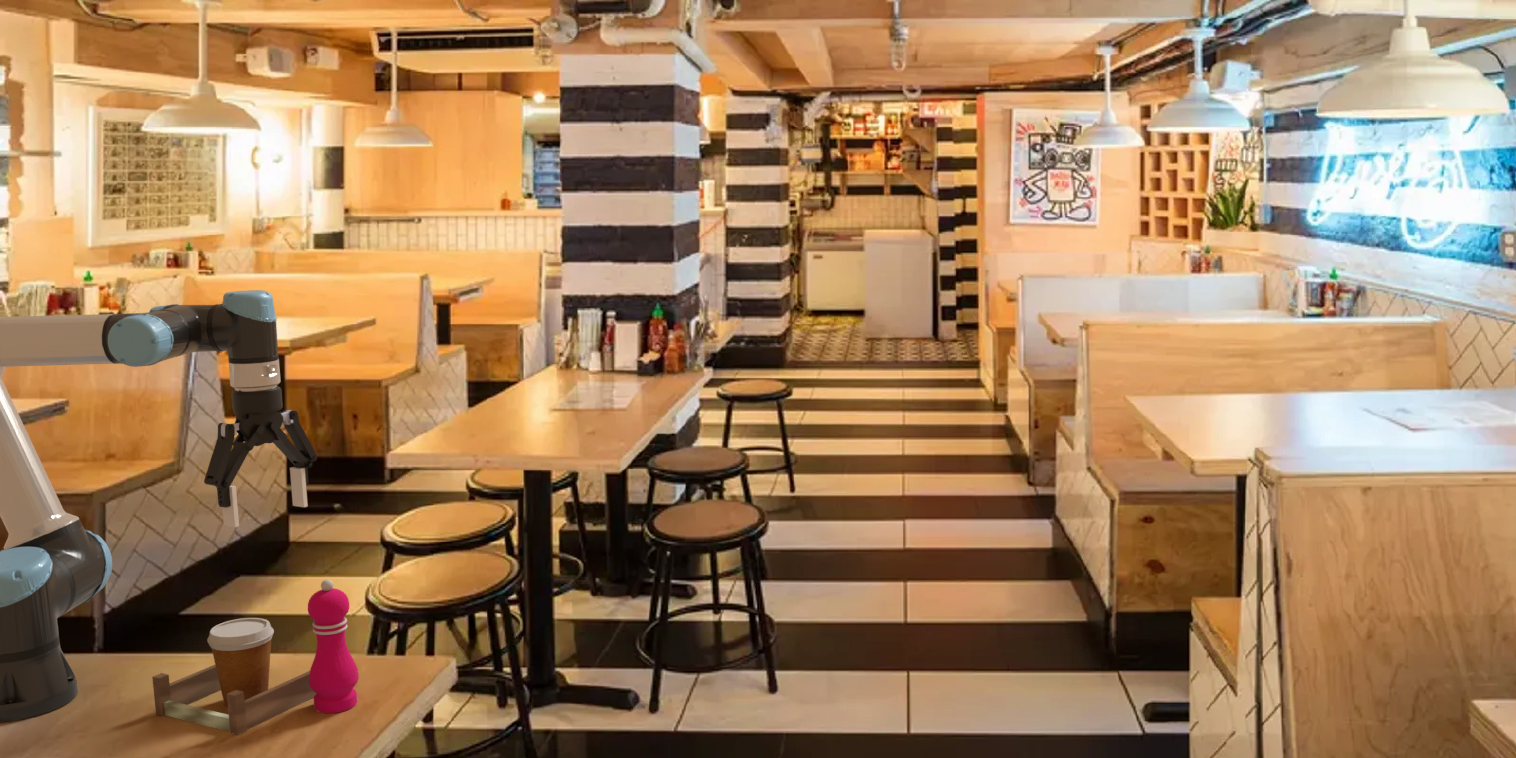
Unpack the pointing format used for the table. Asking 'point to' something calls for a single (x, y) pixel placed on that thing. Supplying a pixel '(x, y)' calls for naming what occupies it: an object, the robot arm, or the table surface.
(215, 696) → the table surface
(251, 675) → the disposable coffee cup
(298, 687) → the bay
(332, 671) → the pepper mill
